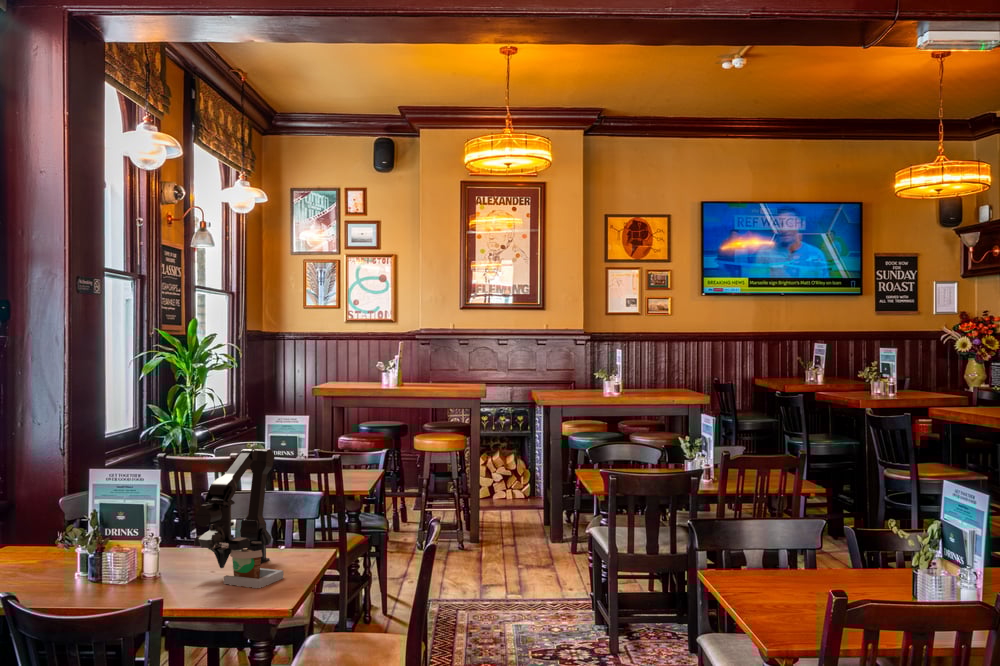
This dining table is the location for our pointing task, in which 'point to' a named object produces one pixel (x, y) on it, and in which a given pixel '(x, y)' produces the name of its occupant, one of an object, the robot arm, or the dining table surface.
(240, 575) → the food container
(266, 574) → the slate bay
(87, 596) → the dining table surface
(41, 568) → the dining table surface
